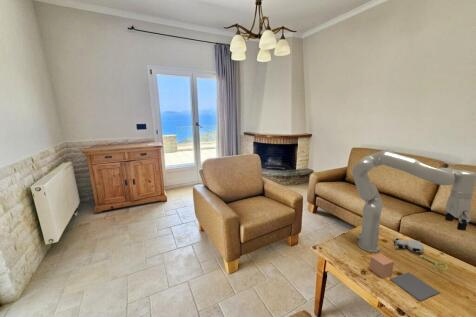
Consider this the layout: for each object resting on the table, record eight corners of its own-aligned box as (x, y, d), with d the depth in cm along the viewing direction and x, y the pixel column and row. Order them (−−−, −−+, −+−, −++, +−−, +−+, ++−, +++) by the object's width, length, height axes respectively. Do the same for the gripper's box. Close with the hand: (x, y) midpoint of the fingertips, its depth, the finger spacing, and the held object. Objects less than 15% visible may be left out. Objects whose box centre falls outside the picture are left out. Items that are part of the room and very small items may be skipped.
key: (419, 256, 126) (419, 253, 125) (447, 266, 117) (448, 263, 117) (418, 262, 121) (418, 259, 120) (447, 273, 112) (448, 270, 112)
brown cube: (369, 268, 116) (370, 256, 115) (378, 265, 119) (380, 253, 117) (381, 278, 110) (383, 264, 108) (391, 274, 112) (393, 261, 110)
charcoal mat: (389, 279, 108) (390, 278, 108) (408, 273, 112) (408, 272, 112) (420, 301, 95) (420, 300, 95) (439, 293, 99) (439, 292, 99)
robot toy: (394, 251, 132) (425, 257, 124) (395, 245, 131) (426, 250, 124) (392, 241, 142) (421, 246, 135) (392, 235, 142) (421, 240, 134)
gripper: (441, 188, 113) (436, 216, 117) (463, 200, 97) (456, 232, 101) (459, 189, 111) (453, 218, 114) (484, 202, 95) (476, 235, 98)
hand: (454, 225), depth 108 cm, fingers open, 9 cm apart
